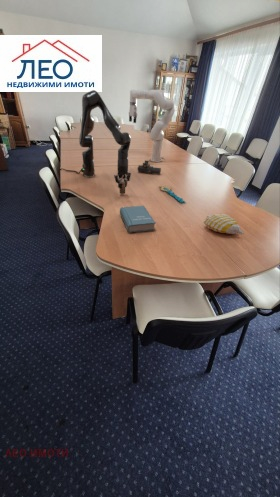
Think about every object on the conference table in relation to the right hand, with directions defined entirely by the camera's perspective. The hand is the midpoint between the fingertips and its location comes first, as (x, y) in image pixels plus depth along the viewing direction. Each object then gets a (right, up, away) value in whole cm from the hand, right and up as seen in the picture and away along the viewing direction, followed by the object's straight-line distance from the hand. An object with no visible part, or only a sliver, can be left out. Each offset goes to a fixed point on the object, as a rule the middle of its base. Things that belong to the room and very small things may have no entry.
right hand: (132, 122), depth 248 cm
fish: (+59, -131, -112) cm, 182 cm away
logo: (+35, -99, -71) cm, 127 cm away
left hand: (-5, -96, -82) cm, 126 cm away
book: (+6, -126, -111) cm, 168 cm away
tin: (-5, -100, -79) cm, 127 cm away
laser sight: (+17, -68, -32) cm, 77 cm away
